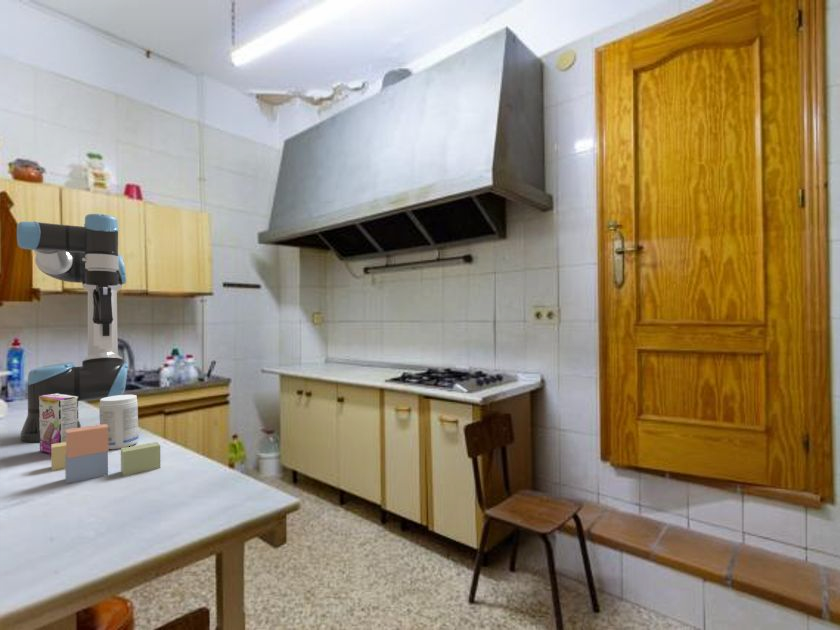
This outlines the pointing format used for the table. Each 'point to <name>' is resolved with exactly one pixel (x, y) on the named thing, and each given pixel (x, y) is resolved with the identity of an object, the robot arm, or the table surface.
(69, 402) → the candy bar box
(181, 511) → the table surface
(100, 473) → the slate-blue brick
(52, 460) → the ochre brick
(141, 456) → the olive brick
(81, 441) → the terracotta brick
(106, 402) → the supplement tub
